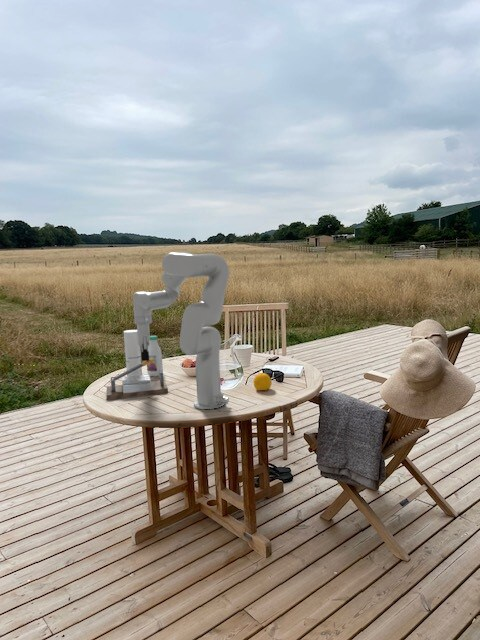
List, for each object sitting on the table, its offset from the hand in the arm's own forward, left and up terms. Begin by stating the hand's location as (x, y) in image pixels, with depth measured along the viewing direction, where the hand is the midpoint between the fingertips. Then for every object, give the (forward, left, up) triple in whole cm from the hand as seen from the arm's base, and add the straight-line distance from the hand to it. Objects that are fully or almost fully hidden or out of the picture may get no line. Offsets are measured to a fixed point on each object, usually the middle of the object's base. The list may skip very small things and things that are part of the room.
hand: (145, 360), depth 203 cm
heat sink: (+3, +3, -12) cm, 13 cm away
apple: (-48, -20, -14) cm, 54 cm away
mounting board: (+3, +4, -14) cm, 15 cm away
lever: (+4, +4, -4) cm, 7 cm away
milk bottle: (+14, -22, -14) cm, 30 cm away
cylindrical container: (+15, -8, -14) cm, 22 cm away
